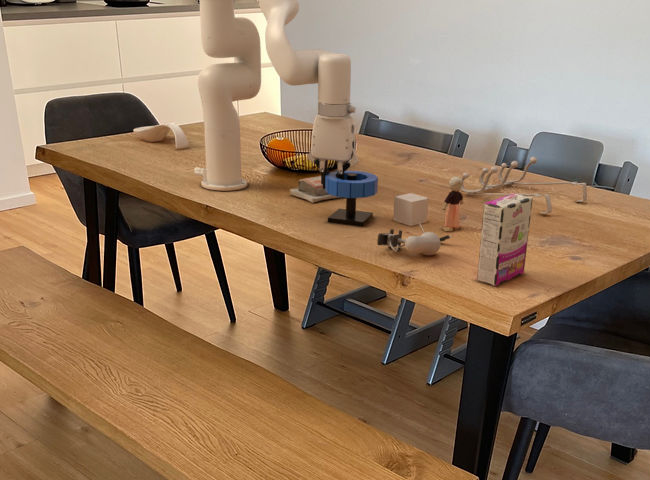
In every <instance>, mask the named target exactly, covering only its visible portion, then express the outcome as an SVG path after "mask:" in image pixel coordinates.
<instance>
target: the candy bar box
mask: <svg viewBox="0 0 650 480" xmlns="http://www.w3.org/2000/svg"><path fill="white" fill-rule="evenodd" d="M510 194H511V195H503V196H501V197H499V198H495V199H493V200H490V201H487V202H484V203H483V211H482V221H481V231H480V232H481V233H480V242H479V243H480V244H479V253H478V264H477V274H476V275H477V276H476V280H477V282H479V283H483V284H486V285H491V286H494V287H497V286H499V285H501V284H503V283H506V282H508V281H510V280H513V279H514V278H517V277H519V276H521V275H524V273H525V266H526V259H527V250H528V241H529V232H530V225H531V215H532V207H533V201H534V200H533V199H534V197H533V196H525V195H519V194H520V193H515V192H514V193H510Z"/></svg>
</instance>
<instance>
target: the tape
mask: <svg viewBox="0 0 650 480" xmlns="http://www.w3.org/2000/svg"><path fill="white" fill-rule="evenodd" d="M337 171H338V170H337ZM337 171H332V172H330V173H329V174H327V175H326V176H325V191H326V192H327V193H328V194H330V195H333V196H338V197H342V198H345V199H346V198H350V197H351V198H356V199H363V198H364V199H365V198H370V197H373V196H376V195H377V194H378V189H379V188H378V185H379V177H378V176H377V175H376V174H374V173H370V172H367V171H361V170H346V171H345V172H344V180H342V179H338V178H337V177H336V174H337ZM349 173H354V174H357V181H350V180H347V174H349Z"/></svg>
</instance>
